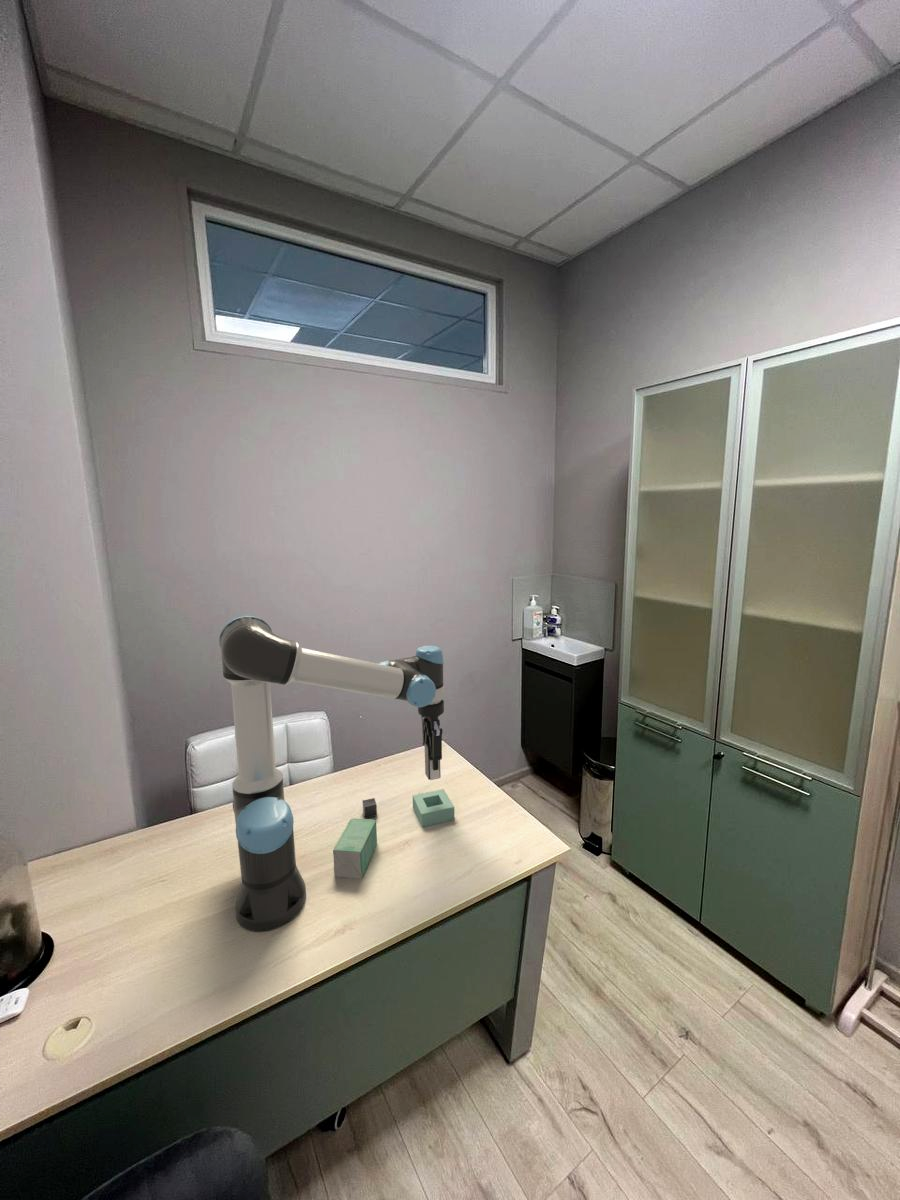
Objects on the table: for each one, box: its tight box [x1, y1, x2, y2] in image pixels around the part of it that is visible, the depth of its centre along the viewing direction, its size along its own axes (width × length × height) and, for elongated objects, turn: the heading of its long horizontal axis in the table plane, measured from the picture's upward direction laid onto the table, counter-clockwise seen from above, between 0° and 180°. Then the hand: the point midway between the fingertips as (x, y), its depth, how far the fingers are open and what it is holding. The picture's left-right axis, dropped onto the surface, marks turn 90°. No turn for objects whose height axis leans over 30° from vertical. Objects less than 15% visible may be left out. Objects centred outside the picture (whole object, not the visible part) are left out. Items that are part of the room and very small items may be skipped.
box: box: [332, 817, 378, 880], centre depth 123 cm, size 7×14×8 cm, turn 172°
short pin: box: [361, 797, 378, 819], centre depth 142 cm, size 4×4×4 cm
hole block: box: [412, 788, 456, 827], centre depth 142 cm, size 10×10×4 cm
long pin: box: [424, 742, 441, 781], centre depth 140 cm, size 4×4×10 cm
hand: (432, 774), depth 140 cm, fingers closed on long pin, 4 cm apart
